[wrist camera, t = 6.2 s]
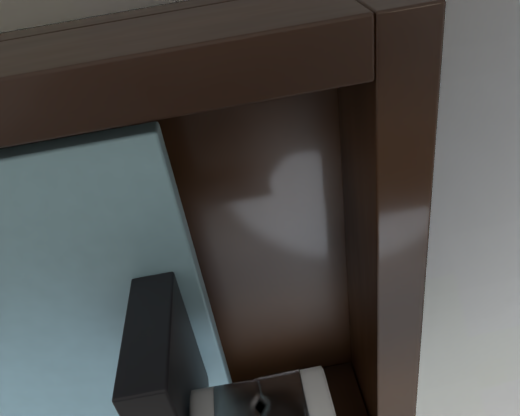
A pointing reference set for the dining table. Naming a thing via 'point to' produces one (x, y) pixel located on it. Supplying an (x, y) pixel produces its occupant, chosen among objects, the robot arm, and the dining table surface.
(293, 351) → the window frame
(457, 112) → the dining table surface
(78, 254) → the blue lid with handle
